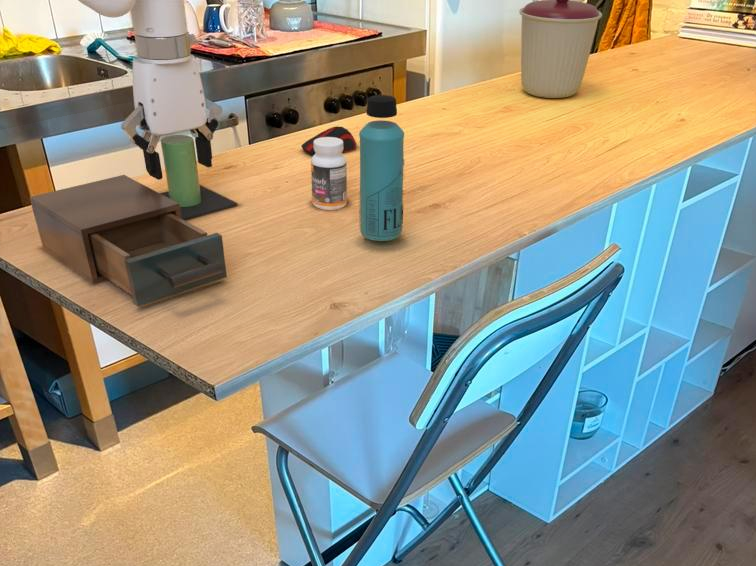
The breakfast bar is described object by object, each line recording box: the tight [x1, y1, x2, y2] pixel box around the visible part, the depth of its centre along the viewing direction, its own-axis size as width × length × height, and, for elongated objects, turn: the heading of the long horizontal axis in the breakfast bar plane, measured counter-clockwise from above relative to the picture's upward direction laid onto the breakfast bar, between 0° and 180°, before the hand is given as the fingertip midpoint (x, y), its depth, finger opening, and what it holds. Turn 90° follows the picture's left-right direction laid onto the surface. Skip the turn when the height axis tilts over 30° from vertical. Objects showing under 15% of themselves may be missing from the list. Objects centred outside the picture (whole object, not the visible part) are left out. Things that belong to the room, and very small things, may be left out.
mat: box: [159, 184, 238, 221], centre depth 132 cm, size 12×12×1 cm
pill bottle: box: [310, 137, 348, 211], centre depth 130 cm, size 6×6×10 cm
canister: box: [519, 0, 603, 99], centre depth 183 cm, size 18×18×21 cm
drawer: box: [88, 212, 228, 307], centre depth 107 cm, size 19×13×6 cm
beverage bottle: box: [358, 94, 406, 242], centre depth 115 cm, size 6×7×20 cm
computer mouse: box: [300, 126, 357, 157], centre depth 153 cm, size 6×11×4 cm, turn 133°
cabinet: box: [29, 174, 182, 285], centre depth 115 cm, size 16×15×8 cm
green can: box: [160, 134, 201, 207], centre depth 129 cm, size 5×5×10 cm
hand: (180, 170), depth 129 cm, fingers open, 8 cm apart
